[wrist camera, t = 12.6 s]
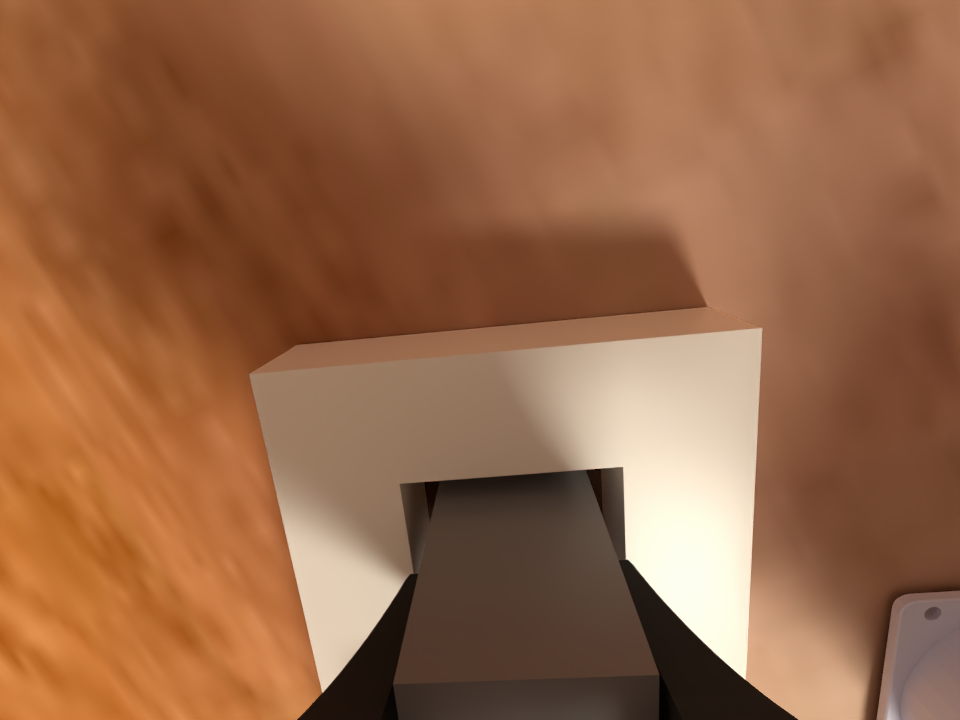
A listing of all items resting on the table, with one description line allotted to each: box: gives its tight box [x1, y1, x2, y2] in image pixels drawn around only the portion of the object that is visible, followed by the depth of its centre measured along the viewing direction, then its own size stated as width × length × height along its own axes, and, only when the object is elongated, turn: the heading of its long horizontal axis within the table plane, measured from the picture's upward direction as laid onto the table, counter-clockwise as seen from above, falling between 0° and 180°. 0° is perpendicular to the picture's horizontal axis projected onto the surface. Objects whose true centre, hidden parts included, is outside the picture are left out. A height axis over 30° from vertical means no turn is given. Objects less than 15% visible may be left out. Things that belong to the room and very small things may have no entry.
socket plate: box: [249, 307, 762, 693], centre depth 16 cm, size 12×20×3 cm, turn 6°
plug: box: [393, 470, 659, 720], centre depth 11 cm, size 4×4×7 cm
